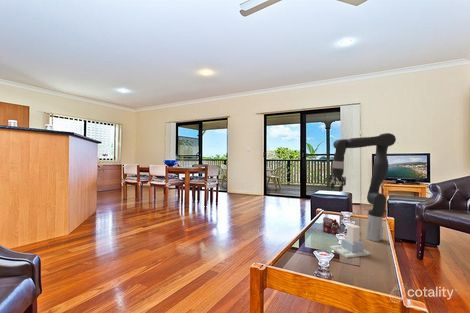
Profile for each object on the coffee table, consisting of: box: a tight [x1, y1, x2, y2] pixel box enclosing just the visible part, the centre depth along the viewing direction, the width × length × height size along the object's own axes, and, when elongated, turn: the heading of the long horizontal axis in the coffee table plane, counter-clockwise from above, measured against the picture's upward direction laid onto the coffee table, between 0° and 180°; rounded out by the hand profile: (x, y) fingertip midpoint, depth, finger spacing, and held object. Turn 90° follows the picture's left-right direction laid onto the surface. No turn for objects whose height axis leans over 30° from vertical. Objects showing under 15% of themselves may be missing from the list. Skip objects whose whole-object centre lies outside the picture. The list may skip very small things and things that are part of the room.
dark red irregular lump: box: [322, 217, 341, 235], centre depth 186 cm, size 7×12×10 cm, turn 54°
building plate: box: [329, 238, 371, 259], centre depth 153 cm, size 18×14×6 cm
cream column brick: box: [345, 224, 361, 243], centre depth 153 cm, size 5×5×10 cm
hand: (336, 190), depth 178 cm, fingers open, 8 cm apart
